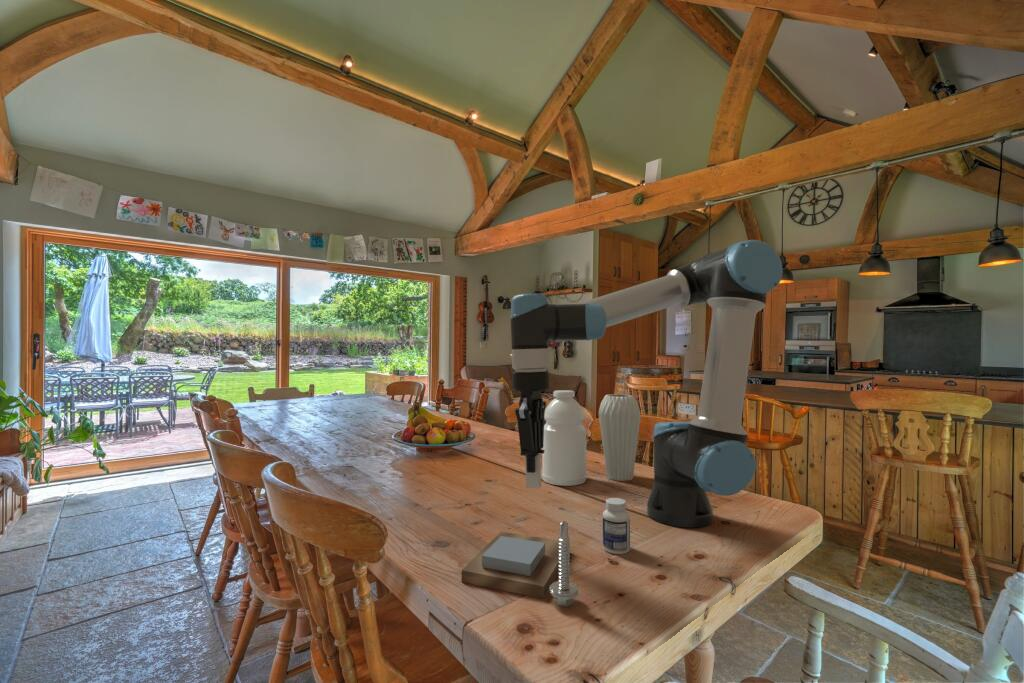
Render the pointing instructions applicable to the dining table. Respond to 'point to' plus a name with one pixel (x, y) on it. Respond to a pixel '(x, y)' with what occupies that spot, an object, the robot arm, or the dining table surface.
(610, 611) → the dining table surface
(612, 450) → the vase
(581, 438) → the bottle
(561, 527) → the screw
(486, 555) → the tile
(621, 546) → the pill bottle
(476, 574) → the board
